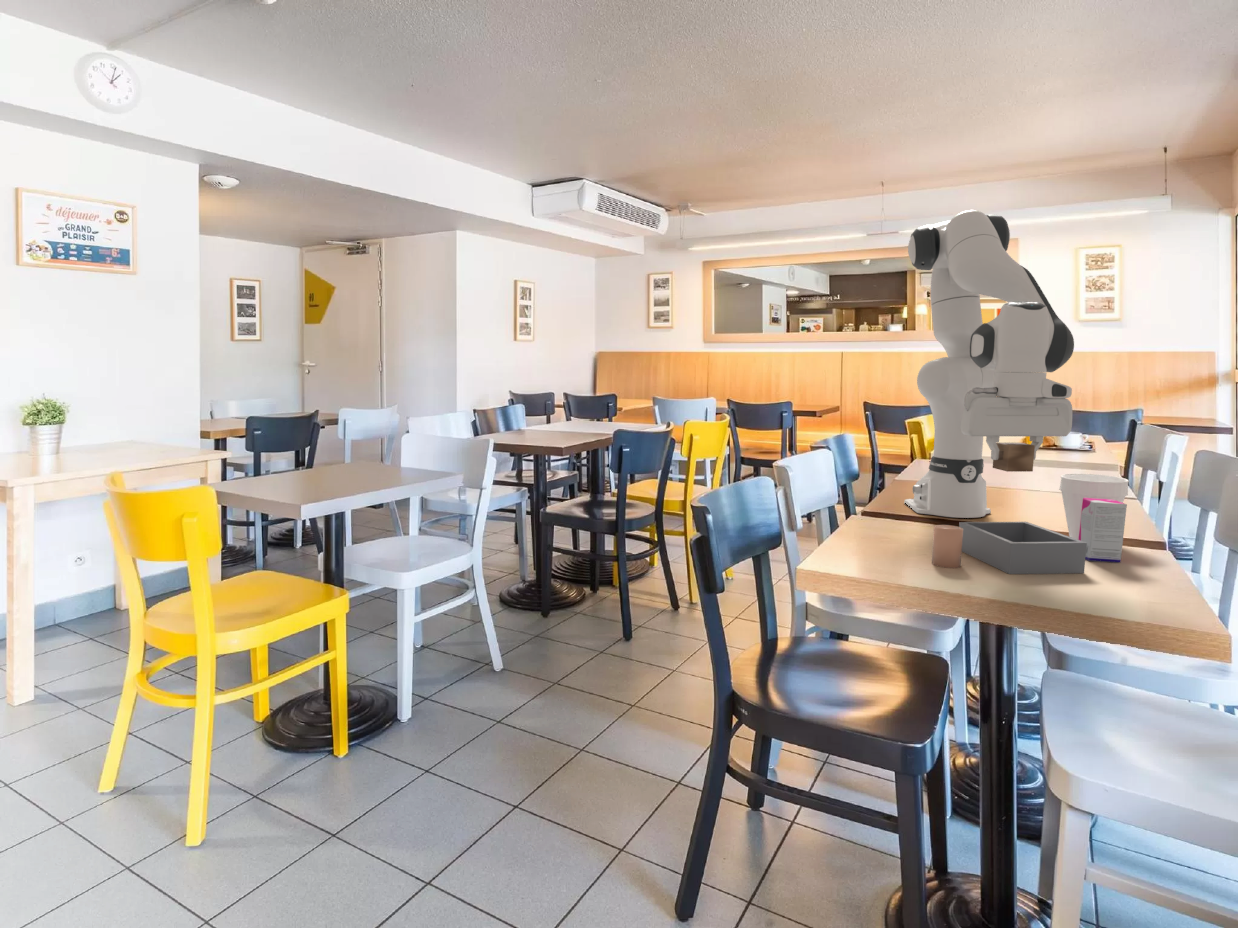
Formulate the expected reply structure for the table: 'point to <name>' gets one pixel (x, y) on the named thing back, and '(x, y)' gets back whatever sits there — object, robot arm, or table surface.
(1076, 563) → the tote
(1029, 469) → the block
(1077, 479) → the cup
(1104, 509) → the supplement box
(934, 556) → the cylinder
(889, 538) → the table surface
